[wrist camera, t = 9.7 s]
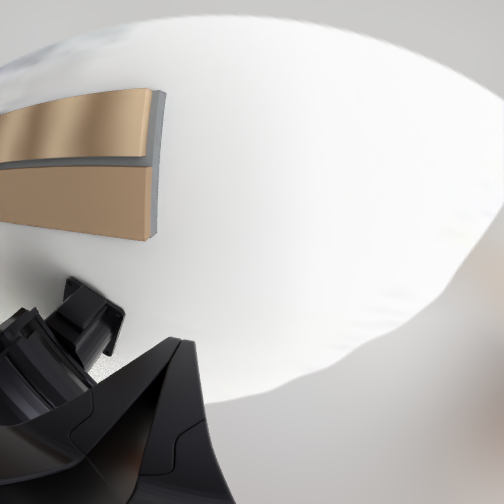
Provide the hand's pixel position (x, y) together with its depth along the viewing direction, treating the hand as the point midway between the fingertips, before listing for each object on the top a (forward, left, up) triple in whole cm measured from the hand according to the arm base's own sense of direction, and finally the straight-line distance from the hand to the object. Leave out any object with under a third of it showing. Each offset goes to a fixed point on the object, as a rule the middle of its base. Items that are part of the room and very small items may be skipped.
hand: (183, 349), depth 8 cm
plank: (+1, +17, -11) cm, 20 cm away
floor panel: (-2, +16, -12) cm, 20 cm away
